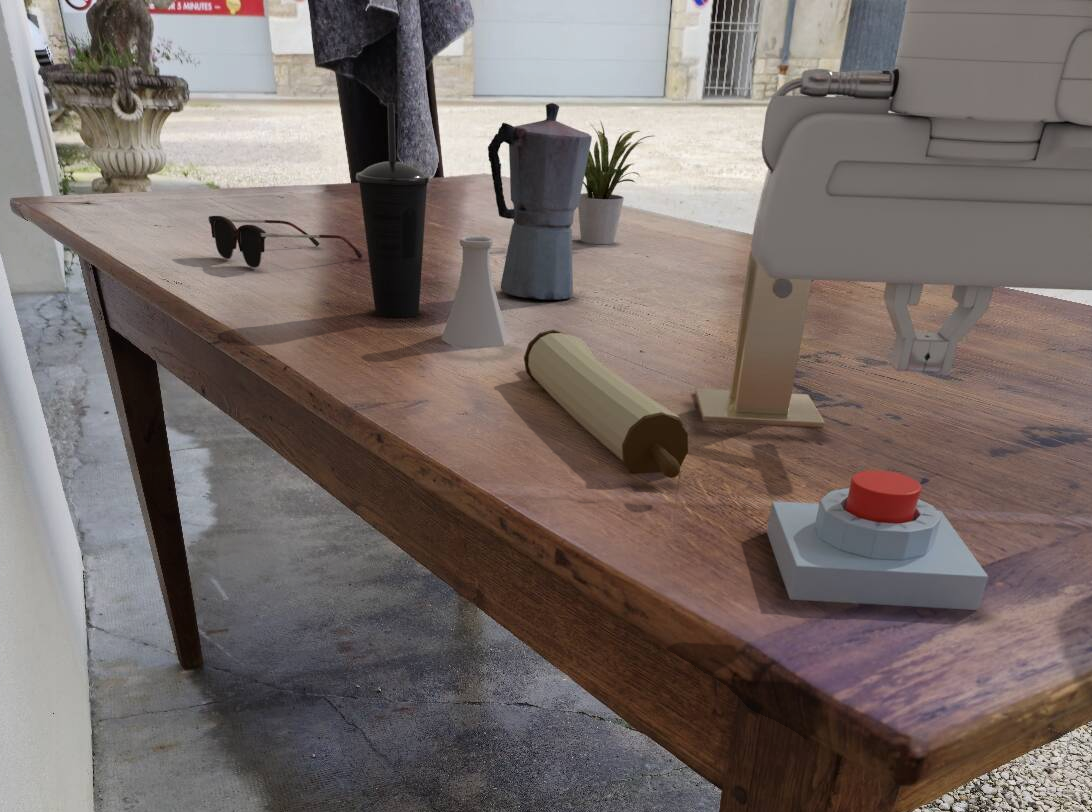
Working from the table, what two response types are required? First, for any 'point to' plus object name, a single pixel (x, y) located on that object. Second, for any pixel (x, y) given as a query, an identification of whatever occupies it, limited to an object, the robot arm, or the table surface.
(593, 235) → the house plant
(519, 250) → the moka pot
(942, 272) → the robot arm
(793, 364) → the bracket
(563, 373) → the rolling pin
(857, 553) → the control block
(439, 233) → the table surface
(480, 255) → the flask
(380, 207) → the drinking cup
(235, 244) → the sunglasses
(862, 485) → the button
